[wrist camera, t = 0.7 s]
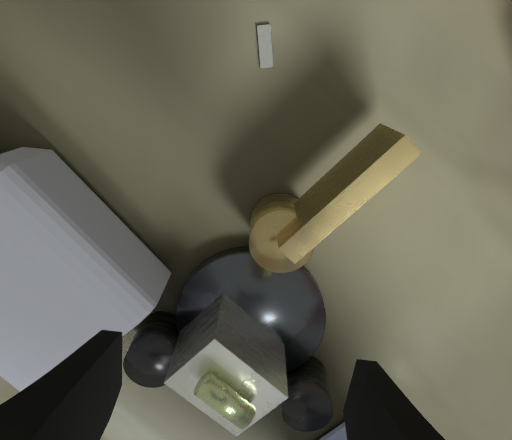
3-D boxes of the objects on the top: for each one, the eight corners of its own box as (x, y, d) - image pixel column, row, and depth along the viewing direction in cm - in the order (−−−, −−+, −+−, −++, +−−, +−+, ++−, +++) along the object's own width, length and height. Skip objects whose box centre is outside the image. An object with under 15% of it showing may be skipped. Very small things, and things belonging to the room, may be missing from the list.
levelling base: (485, 261, 22) (565, 331, 16) (259, 429, 27) (258, 530, 21) (264, 17, 18) (264, -7, 12) (43, 266, 22) (-33, 334, 17)
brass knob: (278, 256, 22) (282, 303, 17) (239, 220, 21) (232, 259, 17) (399, 149, 20) (437, 172, 15) (359, 104, 19) (388, 115, 15)
